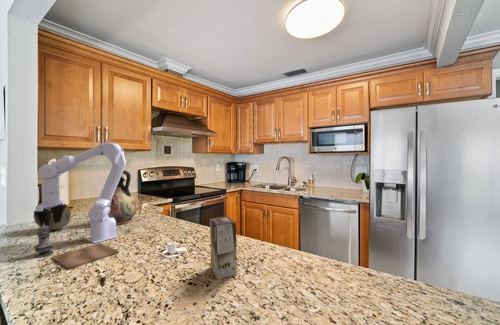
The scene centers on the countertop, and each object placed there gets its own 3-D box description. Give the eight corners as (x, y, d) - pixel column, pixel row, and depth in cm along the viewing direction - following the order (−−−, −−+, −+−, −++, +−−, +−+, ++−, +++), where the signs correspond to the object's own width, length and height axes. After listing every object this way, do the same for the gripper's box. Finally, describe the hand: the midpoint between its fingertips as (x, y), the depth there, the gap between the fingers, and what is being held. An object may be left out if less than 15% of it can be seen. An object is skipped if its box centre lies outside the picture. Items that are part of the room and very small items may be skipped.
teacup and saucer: (189, 251, 89) (189, 241, 89) (174, 260, 82) (174, 248, 82) (172, 248, 93) (172, 238, 93) (156, 256, 85) (156, 245, 85)
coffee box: (237, 275, 70) (237, 222, 69) (217, 279, 67) (216, 225, 67) (228, 262, 78) (227, 215, 78) (209, 266, 76) (209, 218, 75)
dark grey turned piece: (42, 258, 84) (41, 225, 84) (29, 257, 85) (28, 225, 85) (58, 251, 90) (57, 221, 89) (46, 250, 91) (45, 220, 91)
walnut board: (100, 244, 97) (100, 243, 97) (119, 252, 88) (119, 251, 88) (51, 258, 84) (51, 256, 84) (68, 269, 75) (68, 267, 75)
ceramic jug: (99, 225, 125) (97, 170, 124) (119, 218, 140) (118, 169, 140) (127, 226, 122) (125, 170, 122) (144, 219, 137) (143, 169, 137)
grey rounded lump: (65, 224, 128) (65, 198, 127) (75, 229, 119) (74, 200, 119) (31, 231, 116) (30, 202, 116) (39, 236, 108) (38, 205, 108)
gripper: (51, 190, 104) (52, 220, 104) (26, 195, 90) (27, 230, 90) (69, 190, 105) (69, 219, 105) (46, 195, 91) (47, 229, 91)
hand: (51, 224), depth 98 cm, fingers open, 7 cm apart
